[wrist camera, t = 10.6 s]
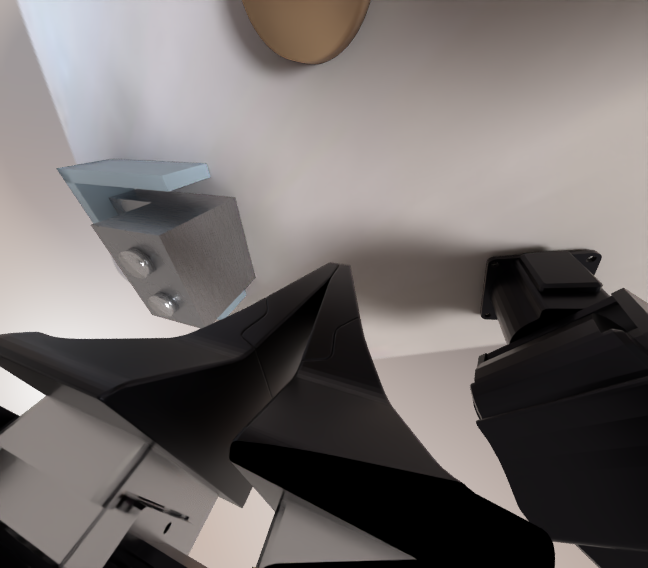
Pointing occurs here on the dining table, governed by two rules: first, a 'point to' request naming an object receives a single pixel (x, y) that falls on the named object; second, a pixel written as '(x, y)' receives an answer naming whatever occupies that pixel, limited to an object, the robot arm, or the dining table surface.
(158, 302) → the engine block
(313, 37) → the walnut wheel
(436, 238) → the dining table surface
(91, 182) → the cradle
